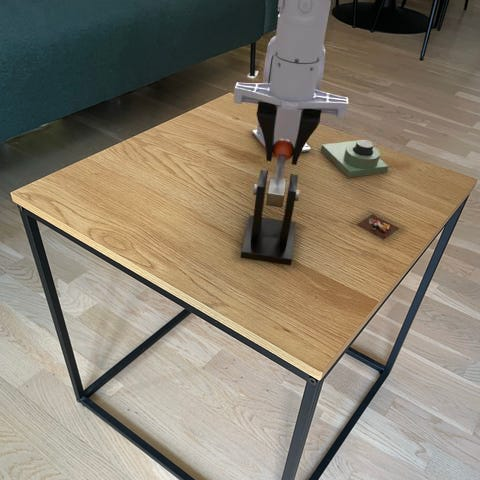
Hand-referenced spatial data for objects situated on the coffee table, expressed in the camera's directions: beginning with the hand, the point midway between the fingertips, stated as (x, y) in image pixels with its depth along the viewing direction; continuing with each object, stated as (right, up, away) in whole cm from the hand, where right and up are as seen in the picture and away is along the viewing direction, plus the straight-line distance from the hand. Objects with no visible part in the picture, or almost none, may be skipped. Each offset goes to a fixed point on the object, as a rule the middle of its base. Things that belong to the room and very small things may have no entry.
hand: (281, 159), depth 70 cm
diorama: (+15, -8, +6) cm, 19 cm away
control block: (+15, +6, +20) cm, 26 cm away
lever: (0, -3, -1) cm, 3 cm away
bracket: (-2, -11, +1) cm, 12 cm away
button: (+16, +7, +17) cm, 24 cm away
